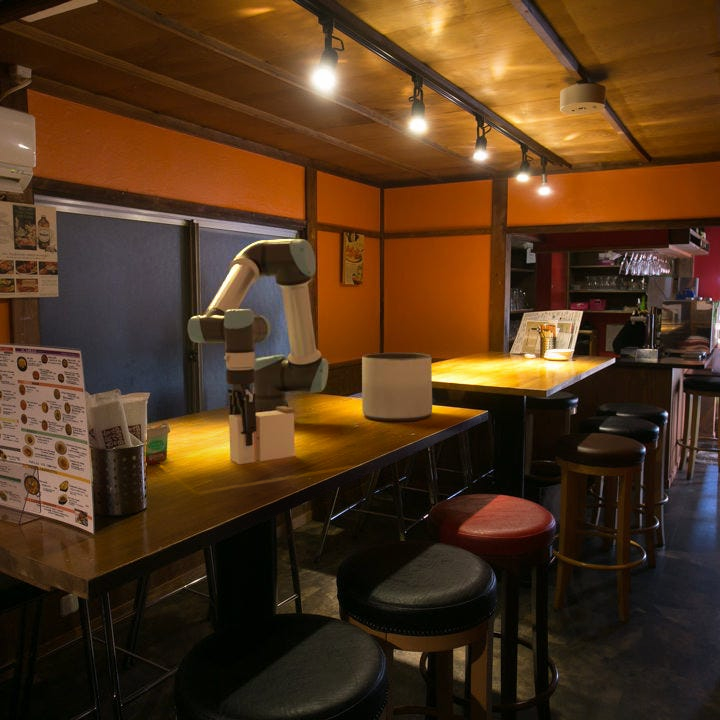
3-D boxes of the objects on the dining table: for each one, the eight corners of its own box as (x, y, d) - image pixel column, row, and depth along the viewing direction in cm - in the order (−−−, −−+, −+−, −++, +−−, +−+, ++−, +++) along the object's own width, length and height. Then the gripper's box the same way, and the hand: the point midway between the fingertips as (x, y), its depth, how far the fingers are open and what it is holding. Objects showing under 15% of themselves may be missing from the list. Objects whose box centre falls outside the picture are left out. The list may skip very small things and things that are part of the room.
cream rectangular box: (251, 456, 181) (250, 409, 180) (285, 451, 187) (283, 406, 185) (260, 461, 176) (259, 412, 175) (294, 456, 181) (293, 409, 180)
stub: (230, 459, 178) (228, 415, 177) (247, 457, 181) (246, 413, 180) (238, 464, 173) (237, 418, 172) (256, 461, 176) (255, 416, 175)
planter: (446, 417, 240) (446, 355, 237) (390, 425, 225) (389, 360, 223) (403, 407, 260) (402, 351, 258) (348, 415, 246) (347, 355, 244)
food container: (145, 469, 172) (143, 431, 171) (129, 466, 175) (127, 429, 174) (181, 459, 182) (179, 423, 181) (165, 456, 186) (164, 421, 185)
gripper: (214, 366, 181) (217, 450, 183) (240, 372, 165) (243, 464, 167) (240, 364, 185) (243, 446, 187) (268, 370, 168) (271, 460, 171)
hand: (243, 454), depth 177 cm, fingers closed on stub, 6 cm apart
